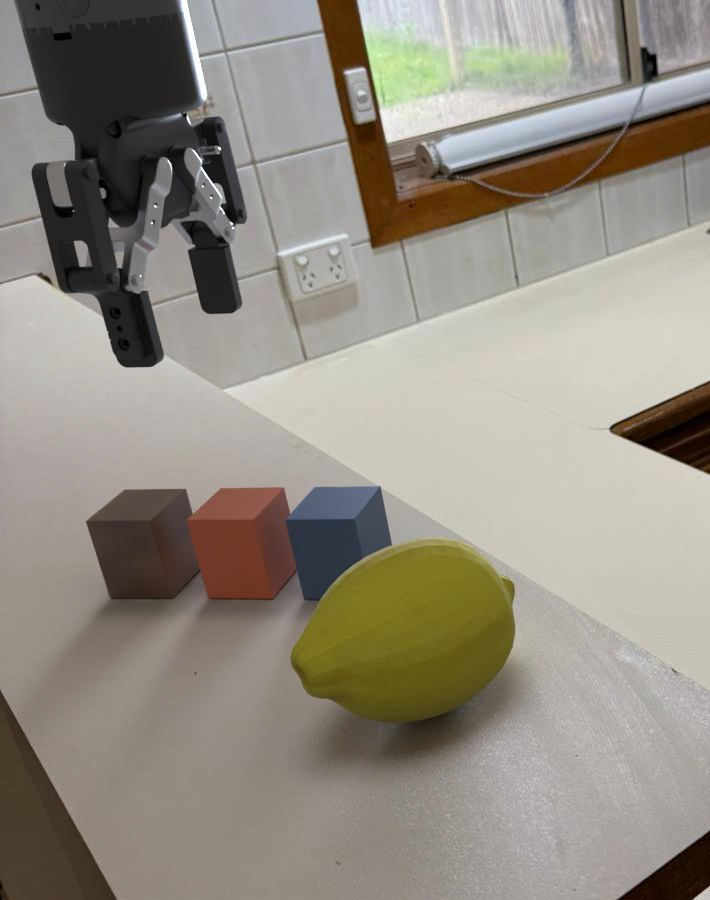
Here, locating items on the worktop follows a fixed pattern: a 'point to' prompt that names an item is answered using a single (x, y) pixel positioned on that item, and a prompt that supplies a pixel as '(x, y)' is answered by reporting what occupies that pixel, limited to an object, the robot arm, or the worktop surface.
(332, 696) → the lemon
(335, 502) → the slate block
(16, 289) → the worktop surface
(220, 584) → the terracotta block
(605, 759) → the worktop surface
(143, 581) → the walnut block
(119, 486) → the worktop surface
